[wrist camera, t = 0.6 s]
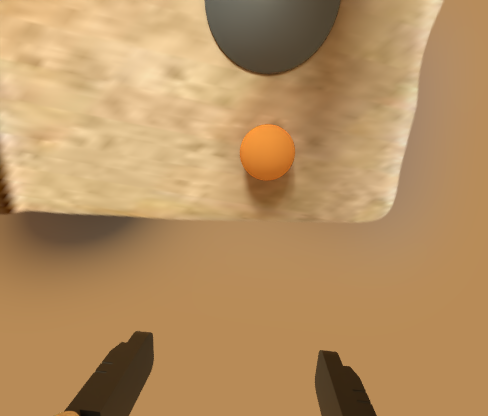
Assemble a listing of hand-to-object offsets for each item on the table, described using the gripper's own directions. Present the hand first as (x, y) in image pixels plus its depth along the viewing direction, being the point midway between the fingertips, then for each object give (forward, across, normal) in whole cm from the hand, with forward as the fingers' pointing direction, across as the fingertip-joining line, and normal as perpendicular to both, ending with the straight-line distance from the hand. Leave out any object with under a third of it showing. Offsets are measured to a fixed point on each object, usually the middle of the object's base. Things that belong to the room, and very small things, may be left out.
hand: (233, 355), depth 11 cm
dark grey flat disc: (+19, -1, -25) cm, 32 cm away
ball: (+17, -1, -10) cm, 20 cm away
